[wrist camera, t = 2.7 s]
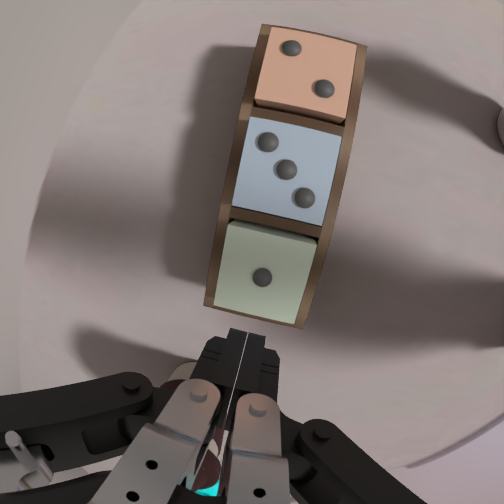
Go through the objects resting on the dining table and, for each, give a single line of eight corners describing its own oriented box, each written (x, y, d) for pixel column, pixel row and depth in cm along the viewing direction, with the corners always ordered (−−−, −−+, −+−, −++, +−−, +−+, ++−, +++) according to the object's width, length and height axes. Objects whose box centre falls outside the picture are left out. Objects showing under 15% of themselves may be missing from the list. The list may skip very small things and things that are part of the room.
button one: (293, 307, 24) (293, 325, 21) (221, 290, 25) (212, 306, 21) (313, 236, 22) (317, 245, 19) (235, 218, 23) (227, 225, 20)
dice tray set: (300, 304, 28) (302, 329, 23) (217, 284, 28) (203, 305, 23) (354, 67, 21) (367, 46, 16) (266, 48, 22) (261, 23, 17)
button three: (317, 220, 22) (322, 226, 19) (238, 201, 22) (231, 205, 19) (334, 142, 20) (342, 136, 17) (255, 124, 21) (249, 115, 18)
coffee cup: (196, 416, 34) (162, 501, 19) (149, 366, 32) (92, 448, 18) (256, 396, 32) (237, 499, 17) (207, 338, 30) (157, 441, 16)
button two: (338, 126, 20) (345, 117, 17) (258, 108, 20) (253, 97, 17) (349, 59, 18) (357, 44, 15) (273, 43, 19) (271, 25, 16)
